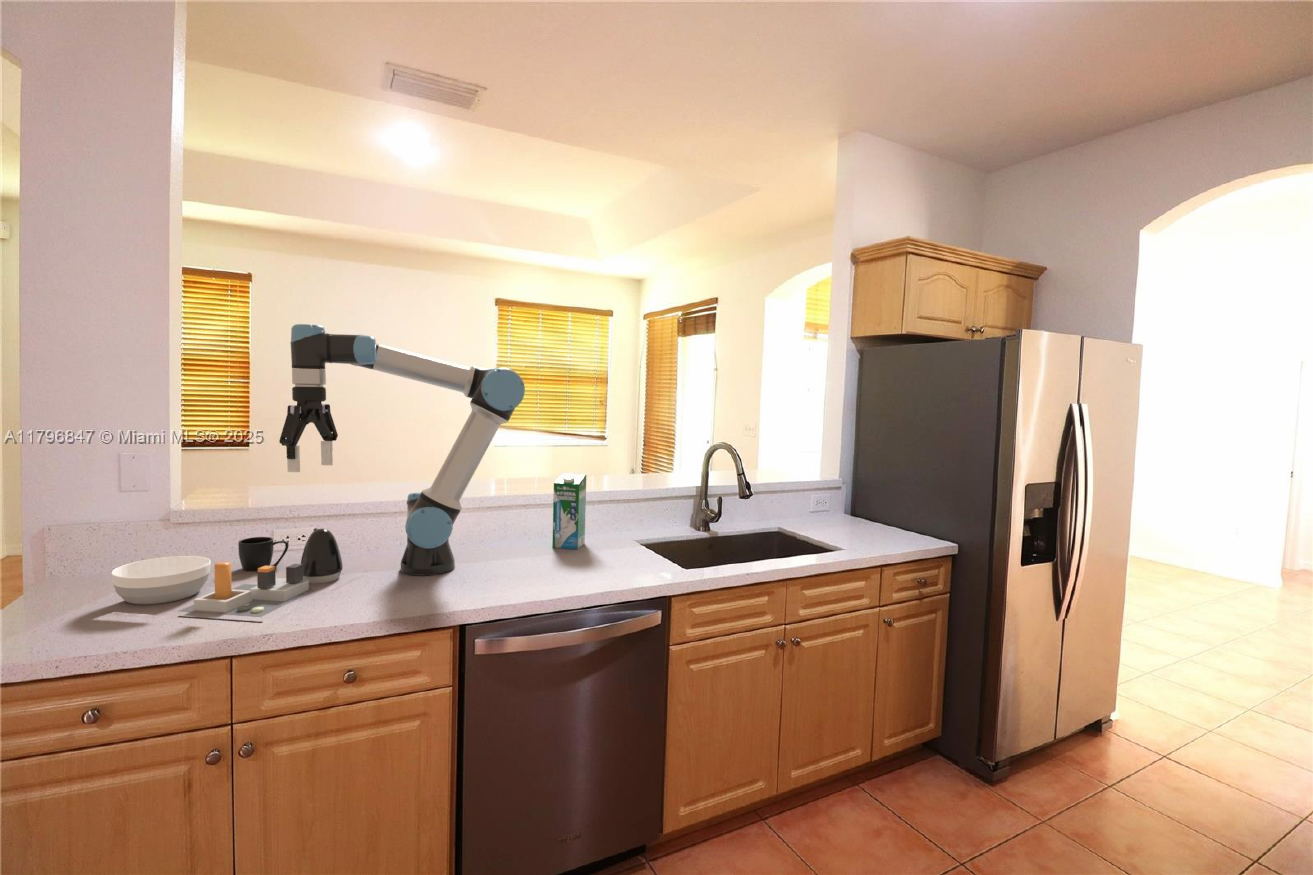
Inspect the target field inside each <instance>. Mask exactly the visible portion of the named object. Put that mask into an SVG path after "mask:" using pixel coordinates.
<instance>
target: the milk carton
mask: <svg viewBox="0 0 1313 875" xmlns="http://www.w3.org/2000/svg"><path fill="white" fill-rule="evenodd" d="M552 500H553V502H552V503H553V506H552V549H553V548H554V549H556V548H557V549H563V550H564V549H566V550H567V549H568V550H579V548H581V547H582V546H583V545H584V544H585V542H586V541H585V540H586V539H585V538H586V537H585V536H586V510H587V508H586V506H587V504H586V500H587V474H585V473H584V474H581V473H564V472H563V473H561V474H560V476H559V477H557V479H556V480H555V481H554V482H553V499H552Z"/></svg>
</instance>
